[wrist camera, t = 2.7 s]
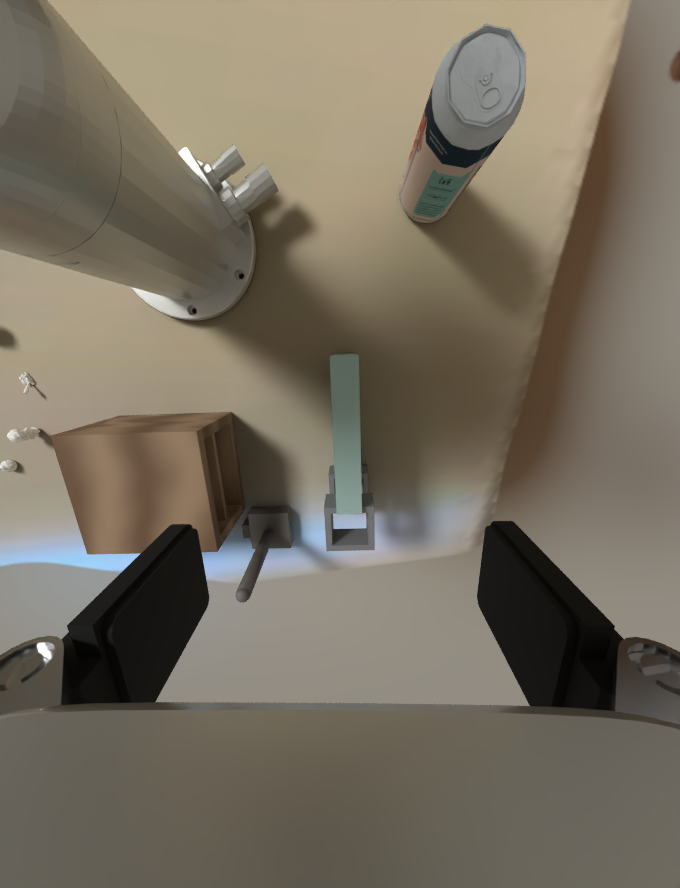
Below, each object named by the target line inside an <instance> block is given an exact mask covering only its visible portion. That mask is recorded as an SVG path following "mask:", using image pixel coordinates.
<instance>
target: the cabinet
mask: <svg viewBox="0 0 680 888" xmlns="http://www.w3.org/2000/svg"><path fill="white" fill-rule="evenodd" d="M50 437H51V440H52V443H53V446H54V449H55V452H56V456H57V459H58V462H59V465H60V468H61V472H62V475H63V478H64V481H65V484H66V487H67V491H68V494H69V497H70V500H71V503H72V506H73V510H74V513H75V516H76V519H77V522H78V526H79V529H80V532H81V535H82V538H83V541H84V545H85V548H86V551H87V554H130V553H142V552H143V551H144V550H145V549H146V548H147V547H148V546H149V545H150V544H151V543H152V542H153V541H154V540H155V539H156V538H157V537H158V536H159V535H160V534H161V533H162V532H163V531H164V530H166V529H167V528H168V527H169V526H170V525H171V524H190V525H192V527H193V529H194V528H195V529H197V531H198V535H199V541H200V547H201V552H218V550H219V548H220V547H221V545H222V544H223V542H224V541H225V539H226V537H227V536H228V534H229V533H230V531H231V530H232V528H233V526H234V525H235V523H236V522H237V520H238V519H239V517H240V515H241V514H242V512H243V511H244V509H245V506H244V498H243V491H242V484H241V477H240V470H239V463H238V455H237V448H236V441H235V434H234V427H233V420H232V412H220V413H190V414H161V415H132V416H117V417H114V418H110V419H107V420H103V421H100V422H97V423H93V424H90V425H86V426H83V427H79V428H76V429H73V430H69V431H66V432H62V433H59V434H56V435H52V436H50ZM242 528H243V535H244V538H251V541H252V548H253V549H256V550H255V552H254V554H253V556H252V558H251V561H250V563H249V565H248V567H247V570H246V572H245V574H244V576H243V578H242V581H241V583H240V585H239V587H238V589H237V592H236V599H237V600H238V601H239V602H246V601H247V600H248V599H249V598H250V596H251V593H252V590H253V588H254V585H255V583H256V580H257V578H258V575H259V573H260V570H261V567H262V565H263V562H264V560H265V557H266V555H267V552H268V549H269V548H291V546H292V542H293V533H292V523H291V512H290V507H256V508H251V510H250V511H249V513H248V519H246V520H245V522H244V523H243V525H242Z"/></svg>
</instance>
